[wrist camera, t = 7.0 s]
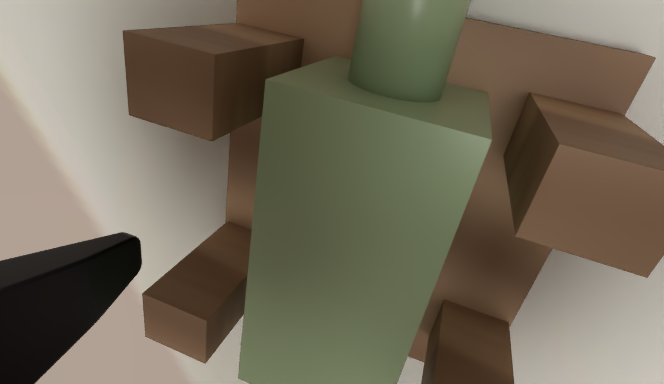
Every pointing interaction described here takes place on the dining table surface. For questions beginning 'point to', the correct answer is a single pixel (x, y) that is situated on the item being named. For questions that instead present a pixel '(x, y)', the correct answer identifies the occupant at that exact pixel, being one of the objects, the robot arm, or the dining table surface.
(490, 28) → the cradle
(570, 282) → the dining table surface
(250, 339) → the bottle
